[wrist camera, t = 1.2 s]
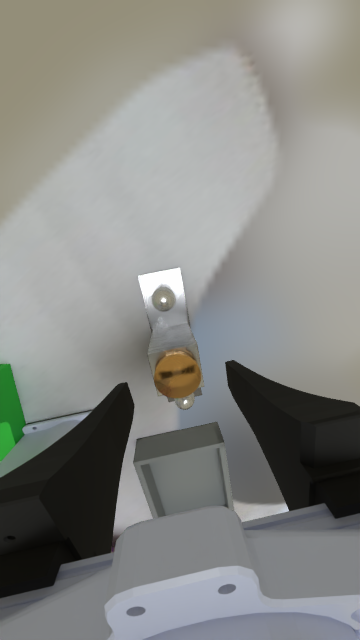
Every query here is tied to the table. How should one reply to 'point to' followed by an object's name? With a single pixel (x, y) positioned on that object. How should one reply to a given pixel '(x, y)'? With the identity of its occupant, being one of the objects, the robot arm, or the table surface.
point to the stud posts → (166, 310)
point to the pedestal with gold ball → (175, 361)
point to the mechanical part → (9, 412)
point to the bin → (184, 470)
